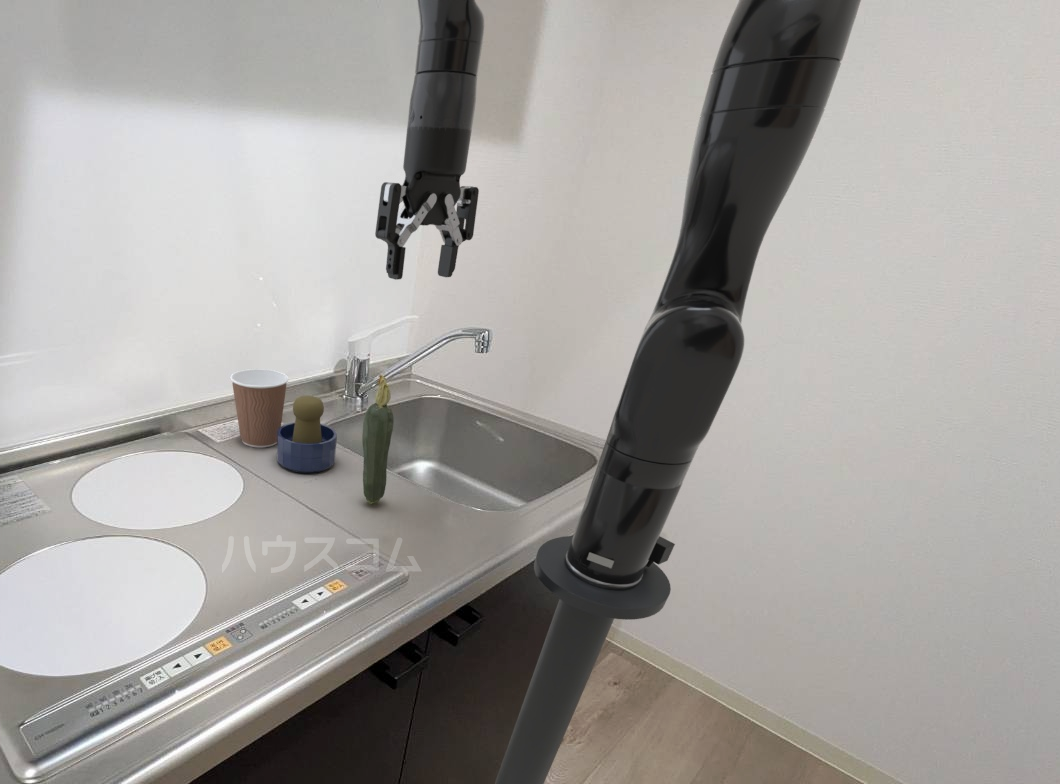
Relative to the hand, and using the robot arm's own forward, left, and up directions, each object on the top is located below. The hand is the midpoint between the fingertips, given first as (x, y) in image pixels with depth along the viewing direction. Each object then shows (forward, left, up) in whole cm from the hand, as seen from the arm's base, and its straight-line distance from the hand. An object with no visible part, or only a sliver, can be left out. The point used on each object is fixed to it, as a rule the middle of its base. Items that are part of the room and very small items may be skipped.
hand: (420, 277), depth 77 cm
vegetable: (+6, +2, -32) cm, 33 cm away
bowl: (+7, -16, -32) cm, 36 cm away
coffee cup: (+10, -28, -32) cm, 44 cm away
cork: (+7, -16, -32) cm, 36 cm away
